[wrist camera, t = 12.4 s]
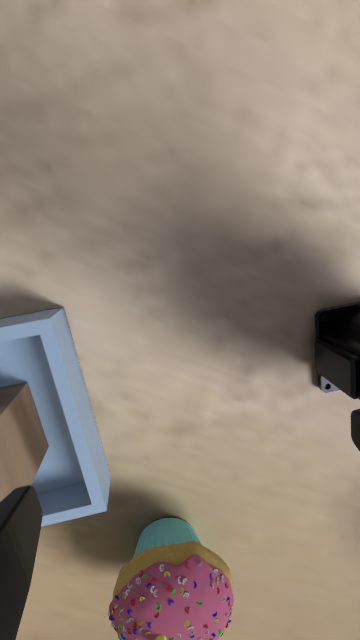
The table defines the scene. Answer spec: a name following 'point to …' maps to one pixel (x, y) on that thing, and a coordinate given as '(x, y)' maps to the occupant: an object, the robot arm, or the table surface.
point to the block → (19, 438)
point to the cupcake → (172, 587)
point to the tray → (57, 414)
